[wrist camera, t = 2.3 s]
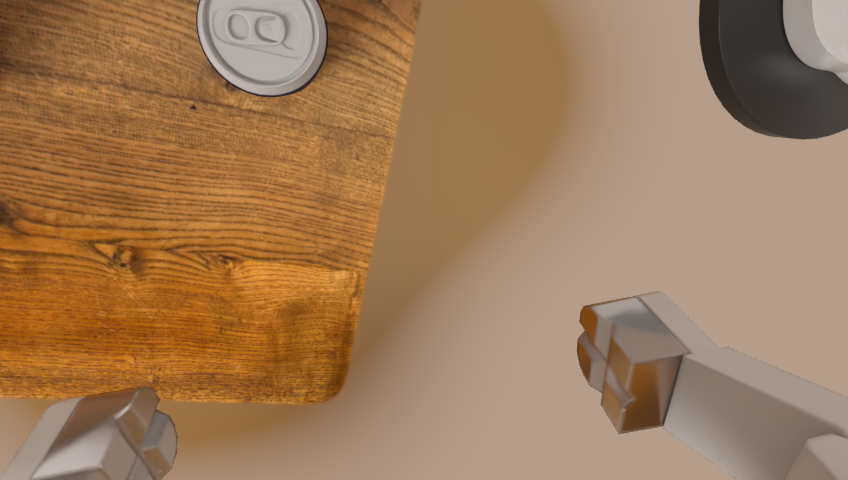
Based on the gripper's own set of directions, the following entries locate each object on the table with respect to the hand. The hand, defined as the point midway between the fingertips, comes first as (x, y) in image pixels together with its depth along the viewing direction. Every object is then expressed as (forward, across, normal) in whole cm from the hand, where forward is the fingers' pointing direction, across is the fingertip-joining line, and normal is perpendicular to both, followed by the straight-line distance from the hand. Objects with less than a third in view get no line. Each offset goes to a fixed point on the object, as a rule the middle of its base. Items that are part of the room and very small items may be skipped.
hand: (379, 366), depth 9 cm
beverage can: (+28, +5, -2) cm, 28 cm away
